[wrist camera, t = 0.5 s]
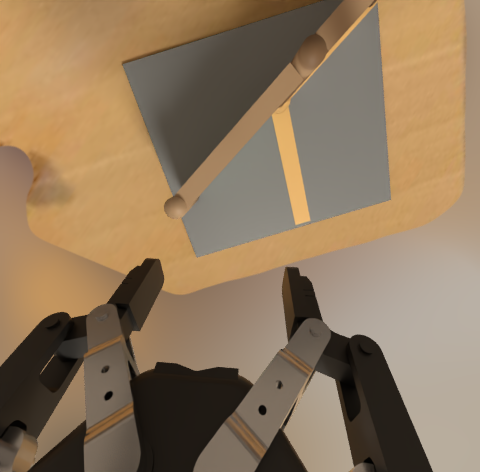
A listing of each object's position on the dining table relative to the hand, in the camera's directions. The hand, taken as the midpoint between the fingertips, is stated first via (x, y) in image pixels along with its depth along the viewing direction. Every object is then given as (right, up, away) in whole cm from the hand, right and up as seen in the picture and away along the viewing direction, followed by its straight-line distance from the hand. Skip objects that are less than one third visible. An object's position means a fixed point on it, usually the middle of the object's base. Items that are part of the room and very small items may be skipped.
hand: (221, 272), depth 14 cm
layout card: (+7, +18, +21) cm, 29 cm away
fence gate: (-1, +15, +21) cm, 26 cm away
